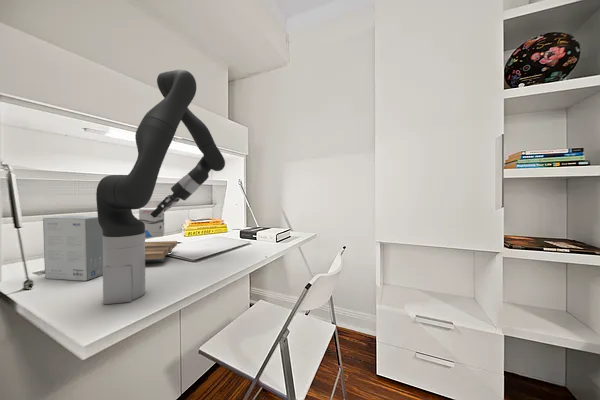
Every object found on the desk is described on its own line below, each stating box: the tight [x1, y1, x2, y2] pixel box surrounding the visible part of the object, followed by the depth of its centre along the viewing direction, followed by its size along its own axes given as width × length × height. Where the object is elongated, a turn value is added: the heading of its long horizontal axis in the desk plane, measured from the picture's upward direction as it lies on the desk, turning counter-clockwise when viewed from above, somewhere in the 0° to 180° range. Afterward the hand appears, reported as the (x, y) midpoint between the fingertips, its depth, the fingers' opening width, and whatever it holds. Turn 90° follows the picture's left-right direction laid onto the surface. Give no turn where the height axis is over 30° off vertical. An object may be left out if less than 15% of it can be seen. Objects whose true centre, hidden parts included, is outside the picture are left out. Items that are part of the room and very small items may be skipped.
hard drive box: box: [42, 215, 103, 282], centre depth 77 cm, size 16×8×20 cm, turn 84°
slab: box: [145, 240, 178, 259], centre depth 97 cm, size 22×14×2 cm, turn 15°
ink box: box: [138, 200, 165, 238], centre depth 97 cm, size 8×5×15 cm, turn 115°
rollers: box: [145, 249, 173, 264], centre depth 97 cm, size 13×12×3 cm
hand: (155, 215), depth 97 cm, fingers closed on ink box, 5 cm apart
